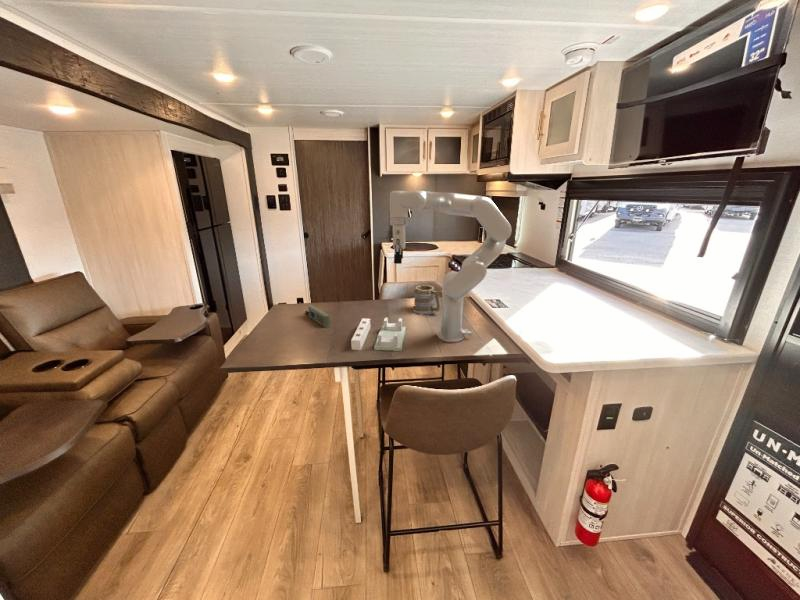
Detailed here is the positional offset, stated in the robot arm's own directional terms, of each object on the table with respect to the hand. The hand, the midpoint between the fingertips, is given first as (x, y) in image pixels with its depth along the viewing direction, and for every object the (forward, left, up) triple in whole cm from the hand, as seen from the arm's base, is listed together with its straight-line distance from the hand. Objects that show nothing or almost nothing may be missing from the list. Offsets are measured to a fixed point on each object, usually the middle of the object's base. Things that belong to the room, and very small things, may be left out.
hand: (398, 260), depth 138 cm
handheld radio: (+46, -13, -37) cm, 61 cm away
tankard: (-14, -30, -37) cm, 49 cm away
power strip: (+17, +5, -37) cm, 41 cm away
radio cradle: (+3, +5, -36) cm, 37 cm away
